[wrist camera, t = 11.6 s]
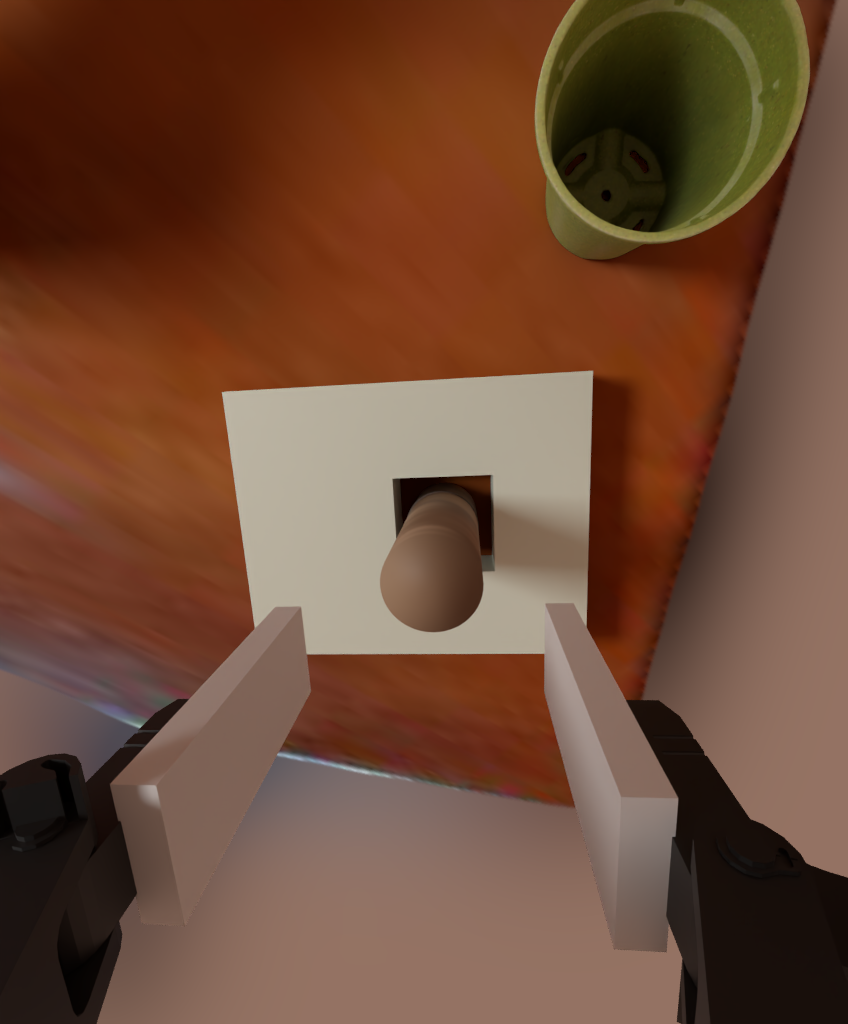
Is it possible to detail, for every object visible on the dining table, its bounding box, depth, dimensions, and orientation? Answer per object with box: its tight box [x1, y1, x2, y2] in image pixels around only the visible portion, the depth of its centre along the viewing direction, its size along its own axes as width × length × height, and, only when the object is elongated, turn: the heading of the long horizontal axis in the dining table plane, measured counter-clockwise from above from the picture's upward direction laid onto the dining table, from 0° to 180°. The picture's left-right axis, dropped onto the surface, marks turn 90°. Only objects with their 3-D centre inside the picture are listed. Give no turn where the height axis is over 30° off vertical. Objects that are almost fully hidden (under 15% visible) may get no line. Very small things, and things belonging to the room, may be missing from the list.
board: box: [222, 371, 593, 654], centre depth 29 cm, size 20×16×3 cm
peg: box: [380, 483, 484, 632], centre depth 24 cm, size 4×4×12 cm
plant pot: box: [535, 0, 810, 260], centre depth 21 cm, size 9×9×9 cm
